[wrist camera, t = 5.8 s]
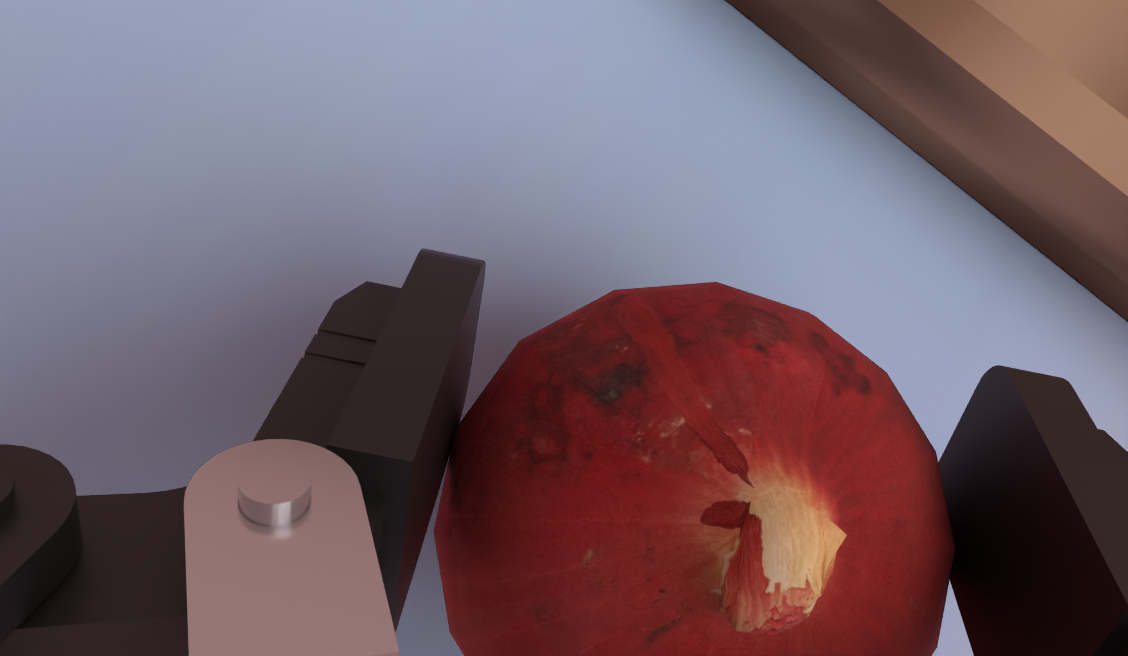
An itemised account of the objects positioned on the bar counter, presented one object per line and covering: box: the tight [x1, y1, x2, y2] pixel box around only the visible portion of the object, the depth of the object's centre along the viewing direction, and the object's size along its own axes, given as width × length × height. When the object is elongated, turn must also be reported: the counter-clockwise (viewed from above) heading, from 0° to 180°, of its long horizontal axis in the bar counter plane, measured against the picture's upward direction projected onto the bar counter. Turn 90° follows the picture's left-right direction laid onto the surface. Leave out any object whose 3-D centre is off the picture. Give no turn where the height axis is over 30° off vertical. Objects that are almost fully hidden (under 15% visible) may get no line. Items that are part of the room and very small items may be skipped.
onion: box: [434, 282, 955, 656], centre depth 11 cm, size 6×6×8 cm
